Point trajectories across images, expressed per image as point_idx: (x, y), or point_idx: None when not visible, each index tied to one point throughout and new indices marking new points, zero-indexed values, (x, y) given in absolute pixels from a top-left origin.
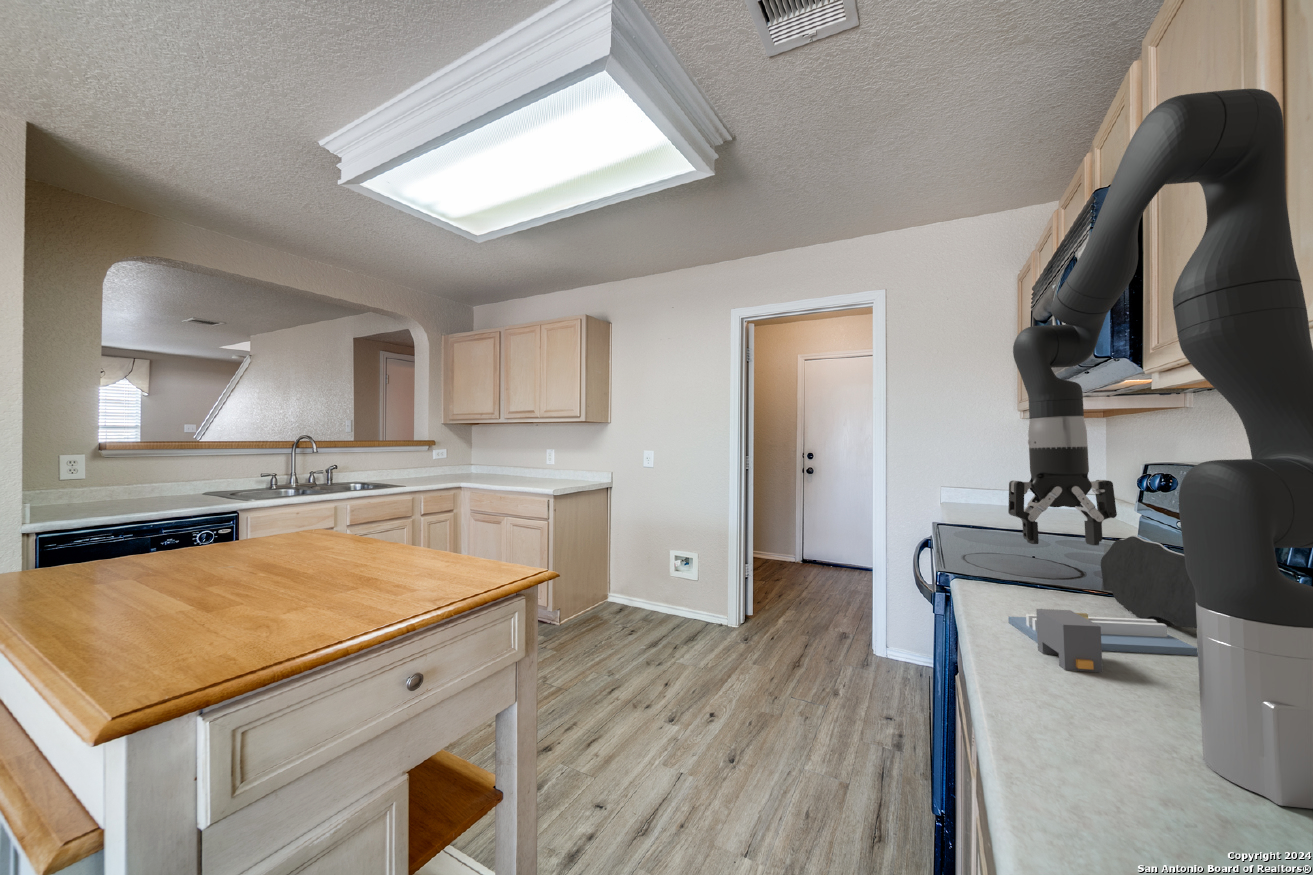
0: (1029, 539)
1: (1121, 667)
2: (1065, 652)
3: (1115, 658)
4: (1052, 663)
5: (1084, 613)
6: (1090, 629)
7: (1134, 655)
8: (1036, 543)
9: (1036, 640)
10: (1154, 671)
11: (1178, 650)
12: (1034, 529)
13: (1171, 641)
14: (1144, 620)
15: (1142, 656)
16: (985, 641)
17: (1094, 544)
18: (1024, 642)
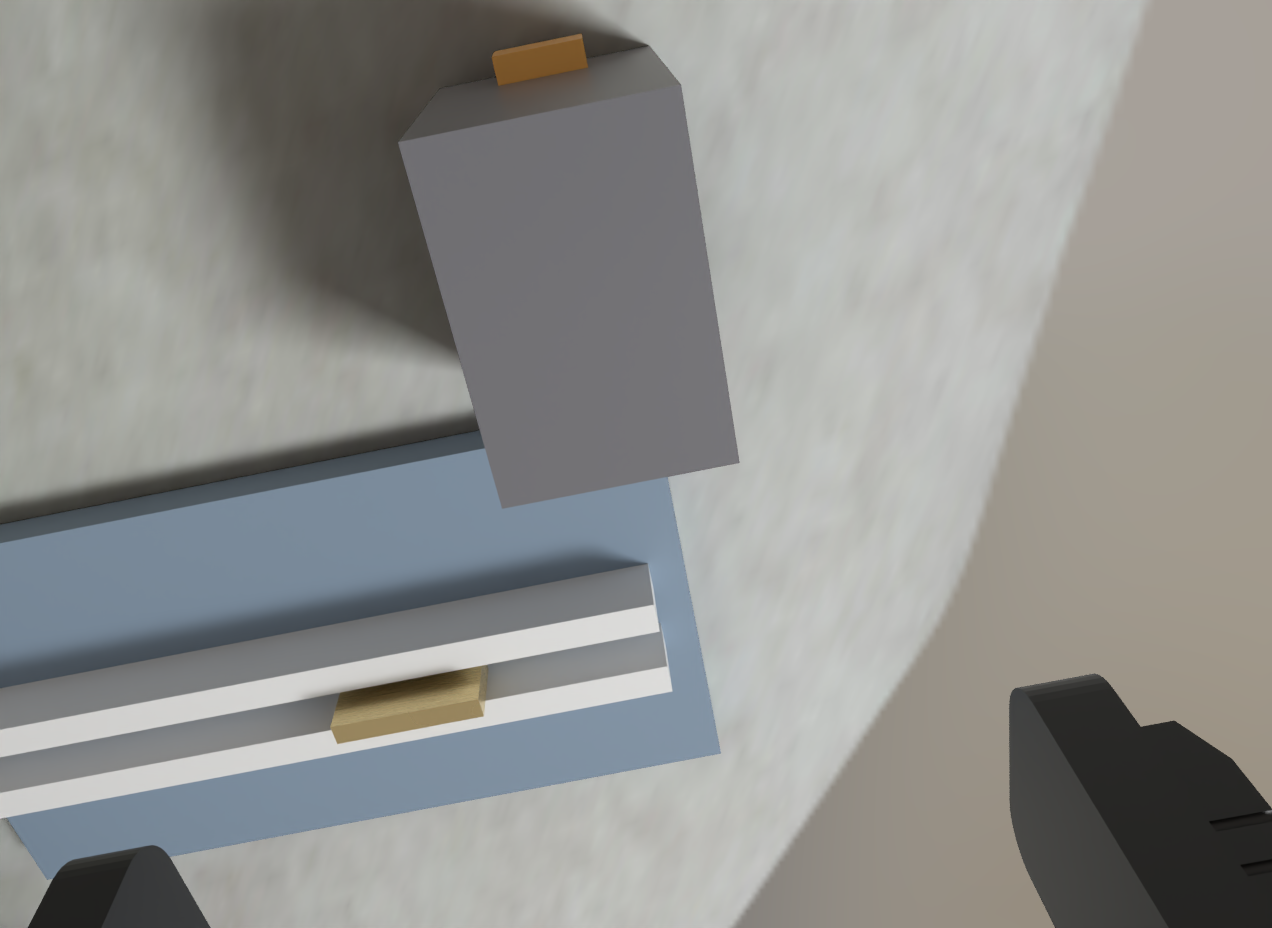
0: (1179, 732)
1: (309, 216)
2: (652, 59)
3: (304, 356)
4: None
5: (347, 734)
6: (476, 123)
7: (191, 440)
8: (1043, 685)
9: None
10: (146, 215)
11: None
12: (1224, 889)
13: None
14: (28, 787)
15: (153, 439)
16: (956, 387)
17: (139, 849)
18: None
